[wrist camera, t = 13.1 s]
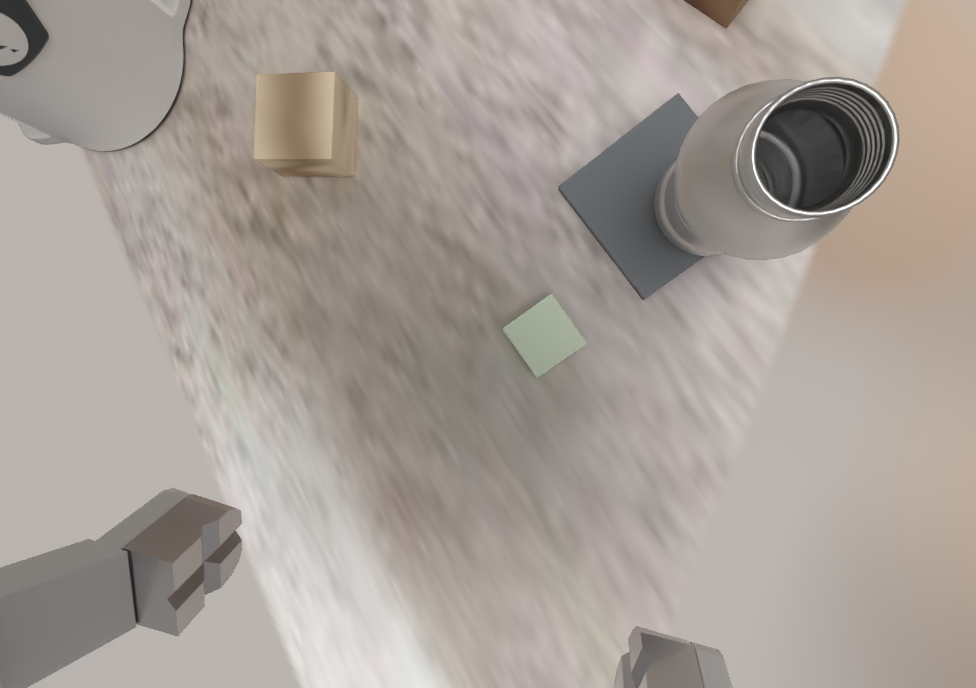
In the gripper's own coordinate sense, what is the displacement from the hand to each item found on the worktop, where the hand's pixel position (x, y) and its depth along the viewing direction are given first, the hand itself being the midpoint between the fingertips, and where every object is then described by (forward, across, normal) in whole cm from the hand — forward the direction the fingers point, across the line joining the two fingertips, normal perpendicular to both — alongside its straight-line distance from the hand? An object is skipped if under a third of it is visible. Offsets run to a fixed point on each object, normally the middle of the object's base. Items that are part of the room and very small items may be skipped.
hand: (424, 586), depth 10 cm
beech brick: (+31, +20, -7) cm, 37 cm away
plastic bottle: (+28, -9, -8) cm, 31 cm away
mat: (+30, -7, -7) cm, 31 cm away
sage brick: (+27, -1, +3) cm, 27 cm away
